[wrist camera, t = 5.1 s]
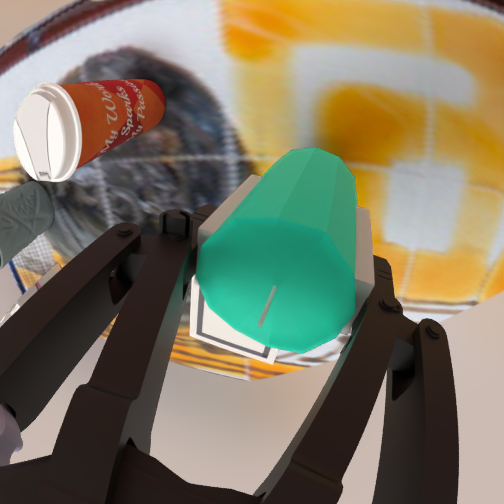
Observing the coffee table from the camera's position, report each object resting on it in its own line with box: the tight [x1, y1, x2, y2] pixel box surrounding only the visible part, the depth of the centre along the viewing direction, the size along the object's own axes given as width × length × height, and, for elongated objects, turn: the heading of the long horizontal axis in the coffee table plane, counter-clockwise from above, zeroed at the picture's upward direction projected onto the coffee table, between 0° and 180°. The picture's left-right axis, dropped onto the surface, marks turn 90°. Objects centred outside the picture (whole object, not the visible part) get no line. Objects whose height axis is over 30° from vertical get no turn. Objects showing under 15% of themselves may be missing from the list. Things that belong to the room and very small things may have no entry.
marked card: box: [190, 275, 279, 365], centre depth 39 cm, size 13×13×1 cm
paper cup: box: [14, 79, 166, 182], centre depth 21 cm, size 8×8×14 cm
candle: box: [196, 147, 357, 353], centre depth 14 cm, size 6×6×12 cm
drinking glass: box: [0, 181, 54, 269], centre depth 35 cm, size 10×10×12 cm
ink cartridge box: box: [0, 263, 62, 323], centre depth 43 cm, size 9×5×15 cm, turn 125°
